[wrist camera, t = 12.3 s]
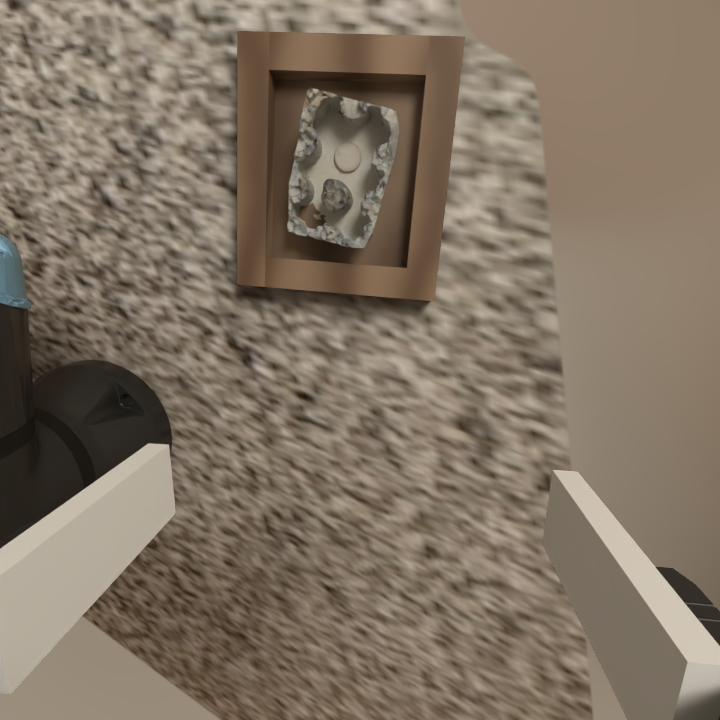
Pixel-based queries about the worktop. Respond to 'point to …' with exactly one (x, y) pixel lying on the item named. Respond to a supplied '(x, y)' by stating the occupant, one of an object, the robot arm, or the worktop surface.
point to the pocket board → (274, 167)
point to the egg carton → (341, 166)
